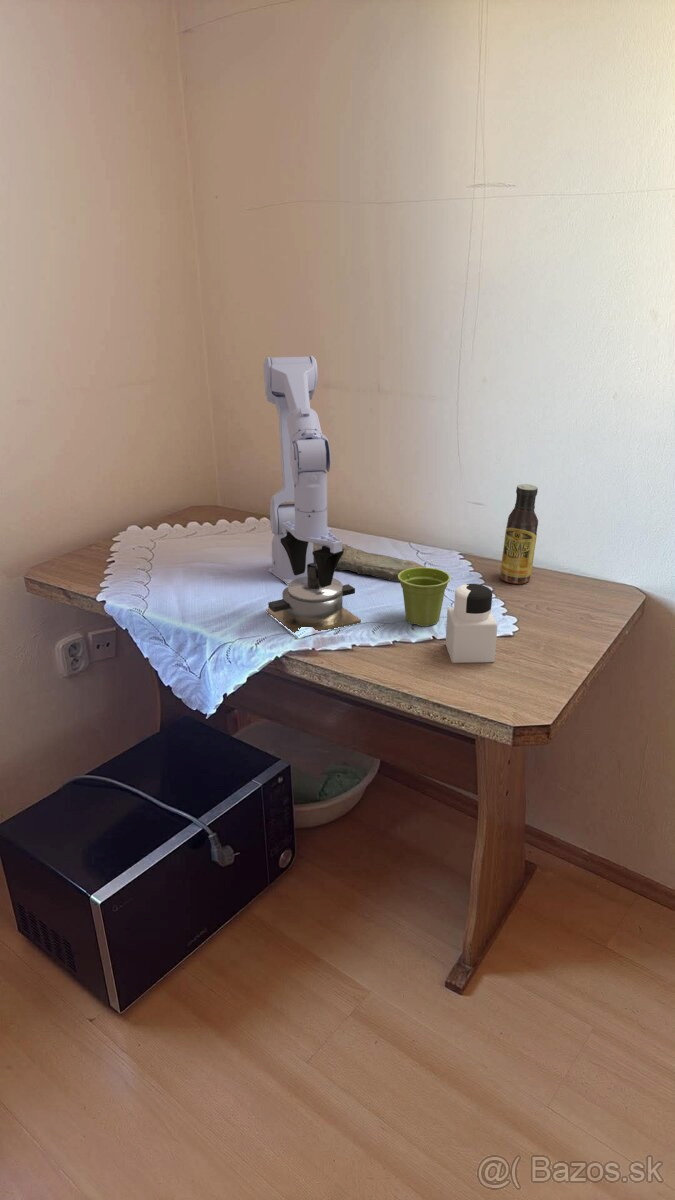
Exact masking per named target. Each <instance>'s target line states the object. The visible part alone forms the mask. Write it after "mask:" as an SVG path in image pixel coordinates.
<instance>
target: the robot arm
mask: <svg viewBox="0 0 675 1200" xmlns="http://www.w3.org/2000/svg"><path fill="white" fill-rule="evenodd" d="M317 363H318V362H317V359H316V358H315V357H314V356H313V355H308V356H282V357H281V356H279V357H276V356H275V357H271V356H266V357H265V359H263V381H264V395H265V397H266V401H267V402H268V403H271V404H274V405H275V408H276V411H277V415H278V425H279V426H278V428H279V445H280V446H279V447H280V461H281V477H282V478H281V479H282V480H281V482H282V487H280V489H279V490H278V491H276V492H275V493H274V494H273V495H272V496H271V498H270V500H269V503H270V505H269V506H270V509H269V521H270V522H269V523H270V530H271V533H272V534H273V535H274V536H273V537H272V539H271V559H272V560H271V561H272V564H271V565H272V567H268V572H270V573H271V574H273V575H274V576H276V577H277V578H278V579H280V580H281V581H282V582H284V583H285V584H286V585H289V583H290V582H291V581H293V580H295V579H297V578H301V577H306V576H307V565H308V564H310V563H314V558H315V561H316V564H317V568H318V577H319V584H320V587H322V588H323V587H326V586H329V585H331V583H332V579H333V578H334V576H335V575H334V574H335V571H336V569H335V568H336V566H337V563H338V561H339V560H340V558H341V556H342V555H343V553H344V549H343V548H342V544H343V540H341V539H339V538H338V537H336V536H335V534H333V533H332V528H331V527H329V526H328V473H329V472H330V470H331V462H332V456H331V455H332V454H331V453H332V452H331V446H330V442H329V439H328V437H326V434H323V431H322V428H321V424H320V419H319V415H318V412H316V410H314V409H313V408H311V403H310V401H311V400H312V399H313V397H314V395H315V391H316V388H317V386H318V377H319V375H318V373H319V372H318V364H317ZM327 472H328V473H327ZM282 503H284V504H282ZM285 503H287V504H285ZM313 543H314V544H316V545H319V546H321V547H322V549H320V550H316V551H313ZM313 556H314V557H313Z"/></svg>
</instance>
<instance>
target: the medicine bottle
mask: <svg viewBox="0 0 675 1200" xmlns="http://www.w3.org/2000/svg"><path fill="white" fill-rule="evenodd" d="M453 603H454V604H453V606H452V607H451V606H450V607H447V610H446V611H447V613H446V628H445V646H446V649H447V652H448V654H449V658H450V660H451V663H452V664H466V663H470V664H471V663H472V664H474V663H477V664H478V663H494V662H495V658H496V647H497V635H498V622H497V620H496V618H495V616H494V615H493V612H492V603H493V591H492V590H491V588H489V587H487V586H486V585H483V584H480V583H466V584H462V585H459V586H458V587H456V588H455V590H454V602H453Z"/></svg>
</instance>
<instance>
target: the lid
mask: <svg viewBox="0 0 675 1200" xmlns="http://www.w3.org/2000/svg"><path fill="white" fill-rule="evenodd" d="M287 587H288V594H289V596H290V597H291V598H293V599H295V600H298V601H302V602H308V603H321V602H328V601H332V600H334V599H337V598H338V597H340V596H341V595H342V593H343V583H342V582H341V581H340V580H339V579H337V578H334V577H333V579H332V583H331V585H329V586H326V587H323V588H322V587H320V584H319V577H318V568H317V564H316V563H310V564H308V565H307V576H306V577H301V578H297V579H295V580H293V581H291V582H290V583H289V584H287Z"/></svg>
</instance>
